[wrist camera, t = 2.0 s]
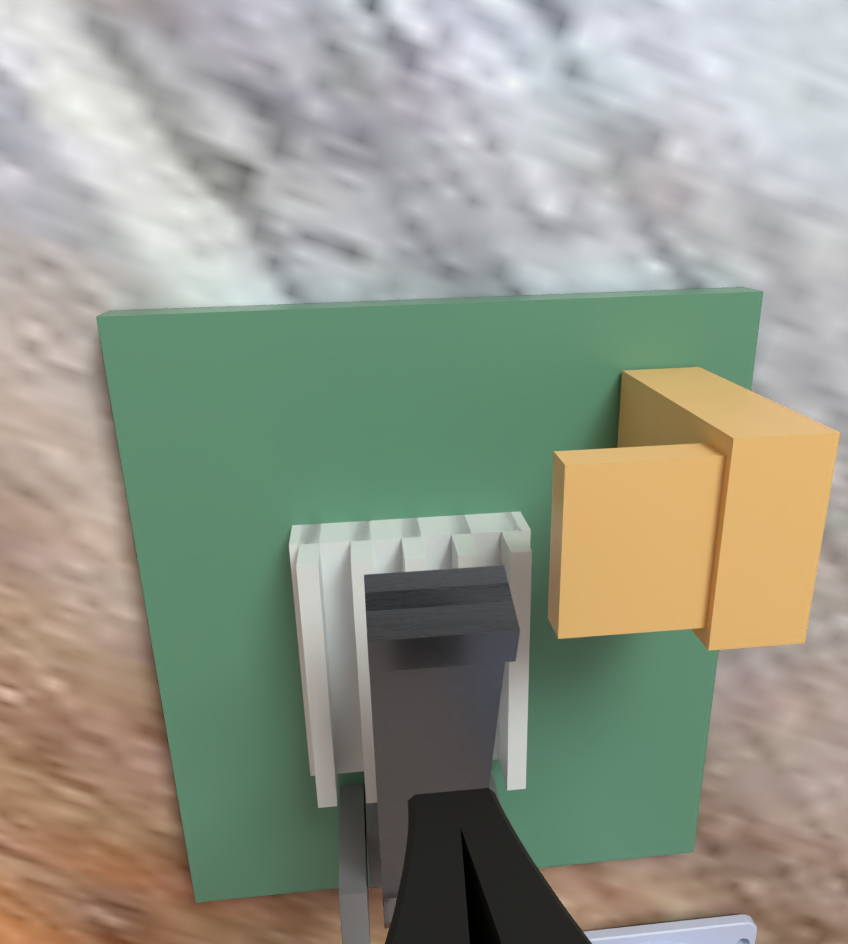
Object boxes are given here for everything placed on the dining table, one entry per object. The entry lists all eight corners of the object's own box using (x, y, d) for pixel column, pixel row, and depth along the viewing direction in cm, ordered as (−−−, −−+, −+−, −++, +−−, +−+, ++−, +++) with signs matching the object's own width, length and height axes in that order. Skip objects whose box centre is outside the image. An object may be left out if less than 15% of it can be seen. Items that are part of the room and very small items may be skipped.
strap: (466, 866, 21) (476, 937, 20) (381, 875, 21) (385, 946, 20) (499, 548, 13) (520, 630, 12) (362, 557, 13) (367, 641, 12)
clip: (683, 526, 21) (804, 643, 15) (502, 538, 20) (560, 662, 15) (699, 367, 19) (840, 432, 14) (504, 376, 19) (569, 446, 13)
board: (680, 828, 26) (751, 961, 21) (201, 875, 24) (168, 1028, 20) (743, 287, 20) (861, 312, 15) (109, 310, 18) (32, 346, 14)
